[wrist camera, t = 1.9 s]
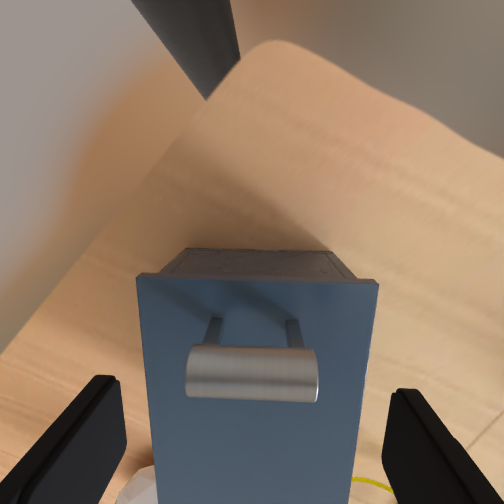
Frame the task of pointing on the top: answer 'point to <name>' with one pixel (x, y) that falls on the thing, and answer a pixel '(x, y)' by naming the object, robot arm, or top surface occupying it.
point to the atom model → (372, 483)
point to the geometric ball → (140, 488)
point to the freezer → (258, 263)
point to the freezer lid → (254, 385)
